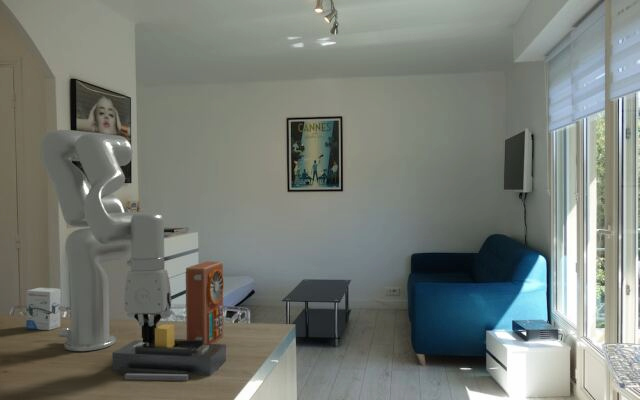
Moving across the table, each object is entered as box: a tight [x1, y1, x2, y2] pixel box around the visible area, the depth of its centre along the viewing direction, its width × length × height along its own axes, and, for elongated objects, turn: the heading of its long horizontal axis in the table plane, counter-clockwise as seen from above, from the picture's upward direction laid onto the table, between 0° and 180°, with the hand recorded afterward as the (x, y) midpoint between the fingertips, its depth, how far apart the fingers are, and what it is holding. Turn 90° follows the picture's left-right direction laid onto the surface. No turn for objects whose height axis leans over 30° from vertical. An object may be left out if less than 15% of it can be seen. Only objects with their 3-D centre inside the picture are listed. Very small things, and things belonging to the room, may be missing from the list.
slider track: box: [112, 338, 227, 376], centre depth 121 cm, size 24×10×5 cm, turn 81°
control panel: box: [185, 260, 225, 344], centre depth 139 cm, size 21×7×15 cm
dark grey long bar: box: [117, 367, 187, 376], centre depth 114 cm, size 16×1×1 cm, turn 81°
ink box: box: [25, 287, 62, 331], centre depth 155 cm, size 9×5×12 cm, turn 77°
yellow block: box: [155, 323, 175, 347], centre depth 121 cm, size 3×4×5 cm
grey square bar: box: [124, 373, 189, 382], centre depth 112 cm, size 14×1×1 cm, turn 87°
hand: (149, 341), depth 122 cm, fingers closed
